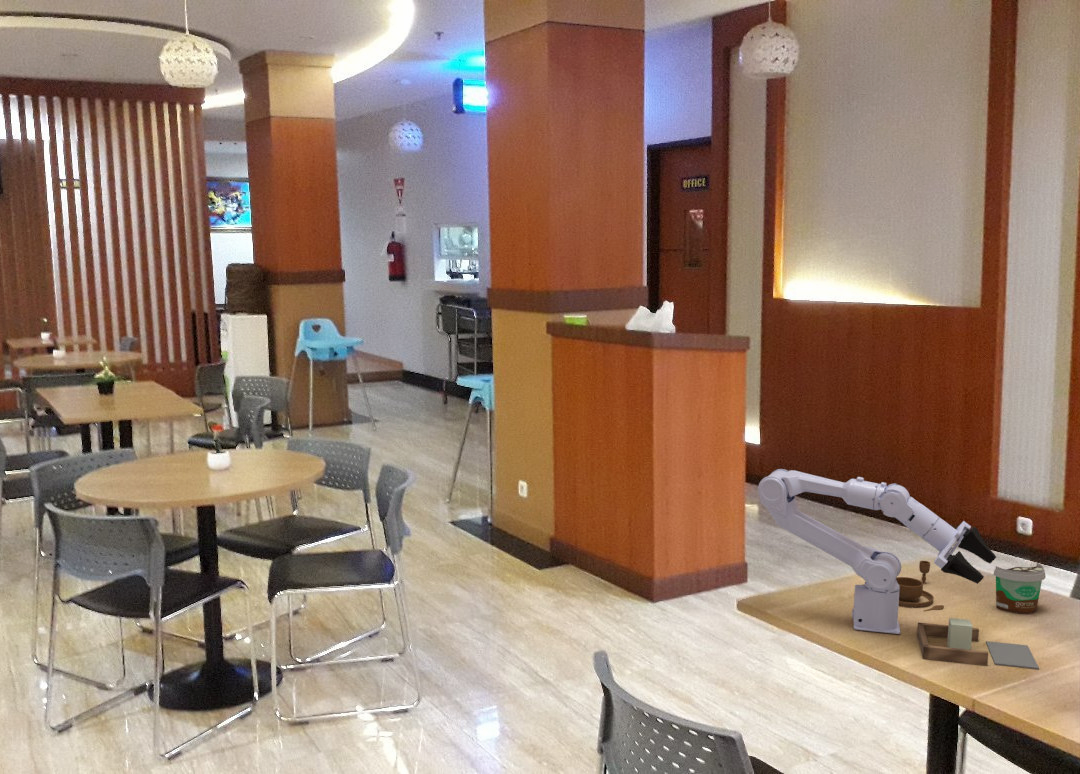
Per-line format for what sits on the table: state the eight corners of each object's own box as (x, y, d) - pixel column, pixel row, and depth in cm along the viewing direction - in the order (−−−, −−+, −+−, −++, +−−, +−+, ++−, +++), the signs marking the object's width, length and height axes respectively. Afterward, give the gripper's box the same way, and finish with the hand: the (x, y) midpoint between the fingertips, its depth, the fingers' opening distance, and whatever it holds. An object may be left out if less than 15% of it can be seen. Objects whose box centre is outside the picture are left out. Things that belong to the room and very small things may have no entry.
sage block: (949, 652, 209) (951, 624, 208) (947, 645, 213) (949, 617, 212) (970, 654, 208) (972, 626, 207) (967, 647, 212) (969, 619, 211)
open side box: (923, 658, 206) (923, 646, 205) (917, 633, 219) (917, 622, 219) (987, 665, 202) (988, 653, 202) (977, 639, 216) (978, 628, 216)
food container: (1009, 618, 229) (1012, 574, 228) (990, 608, 235) (993, 566, 234) (1055, 613, 232) (1059, 570, 231) (1035, 604, 238) (1039, 562, 237)
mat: (994, 664, 203) (995, 663, 203) (985, 642, 215) (986, 641, 214) (1039, 669, 201) (1039, 667, 201) (1027, 646, 212) (1027, 645, 212)
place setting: (859, 593, 246) (860, 569, 245) (921, 582, 255) (923, 559, 254) (914, 617, 231) (916, 591, 230) (978, 604, 239) (980, 580, 238)
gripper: (927, 534, 208) (985, 578, 204) (953, 499, 218) (1009, 540, 213) (909, 554, 213) (966, 597, 209) (935, 518, 222) (990, 559, 218)
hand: (987, 570), depth 211 cm, fingers open, 7 cm apart
